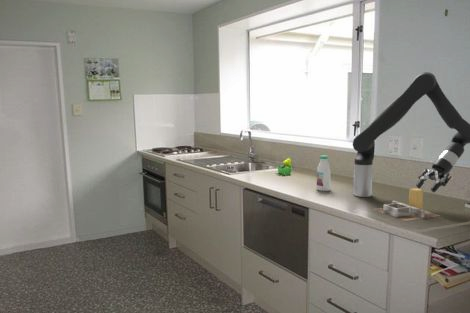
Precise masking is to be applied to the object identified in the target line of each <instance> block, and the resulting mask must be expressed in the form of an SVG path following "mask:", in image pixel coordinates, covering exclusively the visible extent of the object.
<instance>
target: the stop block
mask: <svg viewBox="0 0 470 313" xmlns="http://www.w3.org/2000/svg"><path fill="white" fill-rule="evenodd" d="M408 192H409V193H408V205H409V206H412V207H415V208H418V209H421V210H423V201H424V200H423V199H424V189H421V188H417V187H416V188H409V191H408Z"/></svg>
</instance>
